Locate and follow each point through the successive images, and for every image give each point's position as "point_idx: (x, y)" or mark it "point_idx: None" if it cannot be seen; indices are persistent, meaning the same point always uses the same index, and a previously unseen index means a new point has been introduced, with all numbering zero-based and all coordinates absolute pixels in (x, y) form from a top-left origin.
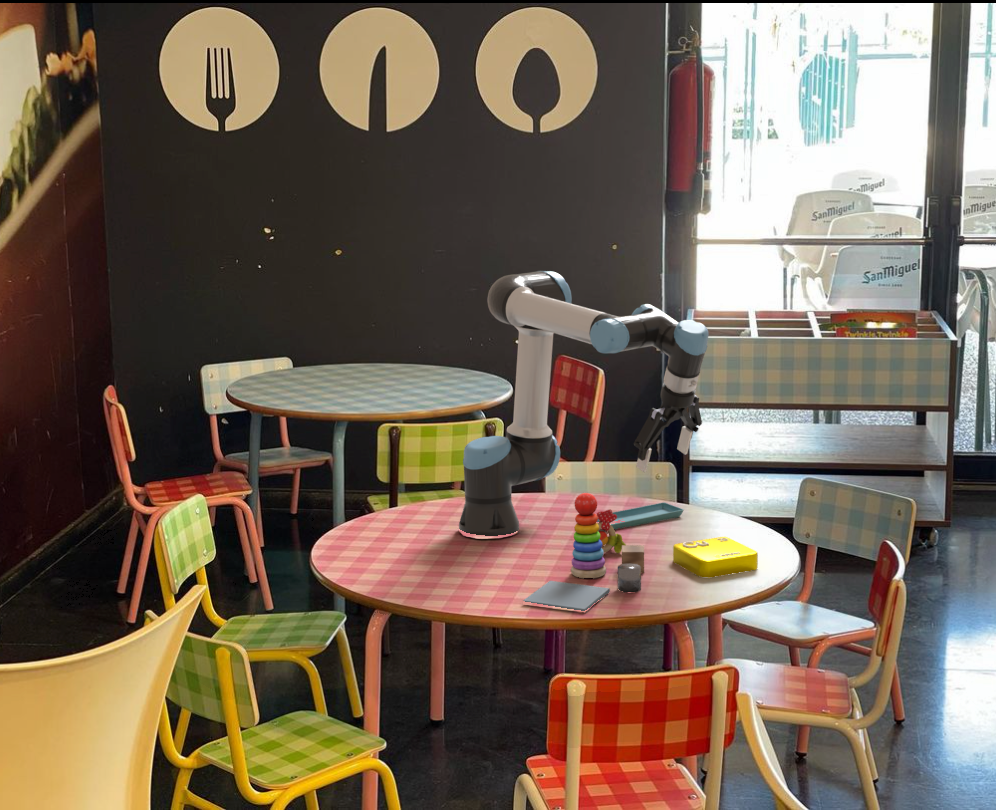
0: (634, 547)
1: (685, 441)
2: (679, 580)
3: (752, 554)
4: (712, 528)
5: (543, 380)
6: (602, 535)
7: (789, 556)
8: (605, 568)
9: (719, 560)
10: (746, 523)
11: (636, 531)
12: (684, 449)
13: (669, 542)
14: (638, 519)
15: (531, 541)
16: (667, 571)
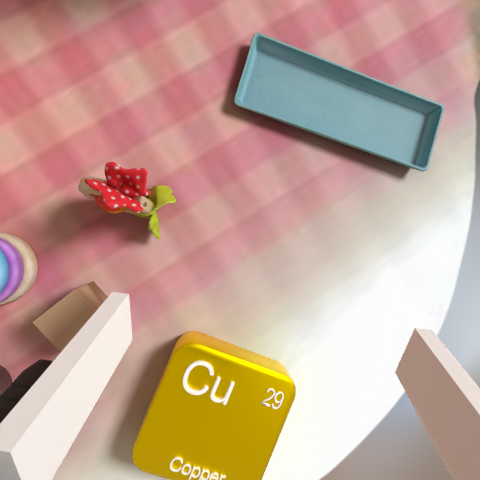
0: (80, 321)
1: (444, 436)
2: (96, 417)
3: None
4: (389, 259)
5: None
6: (103, 207)
7: (337, 462)
8: (14, 298)
9: (162, 476)
10: (448, 286)
11: (288, 160)
12: (411, 387)
13: (271, 254)
14: (324, 135)
15: (96, 31)
16: (125, 366)
